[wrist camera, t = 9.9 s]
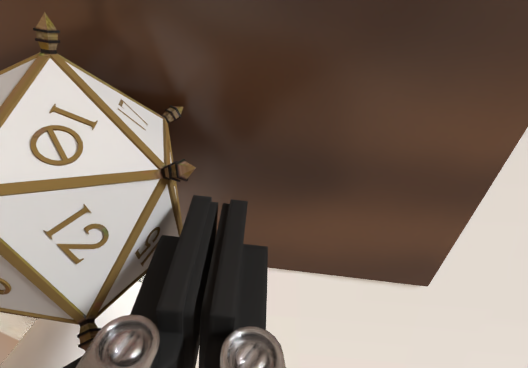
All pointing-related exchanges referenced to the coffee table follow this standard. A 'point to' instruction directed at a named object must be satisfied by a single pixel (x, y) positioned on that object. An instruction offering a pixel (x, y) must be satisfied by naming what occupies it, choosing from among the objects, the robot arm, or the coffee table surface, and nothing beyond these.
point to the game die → (79, 188)
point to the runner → (316, 112)
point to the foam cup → (62, 337)
